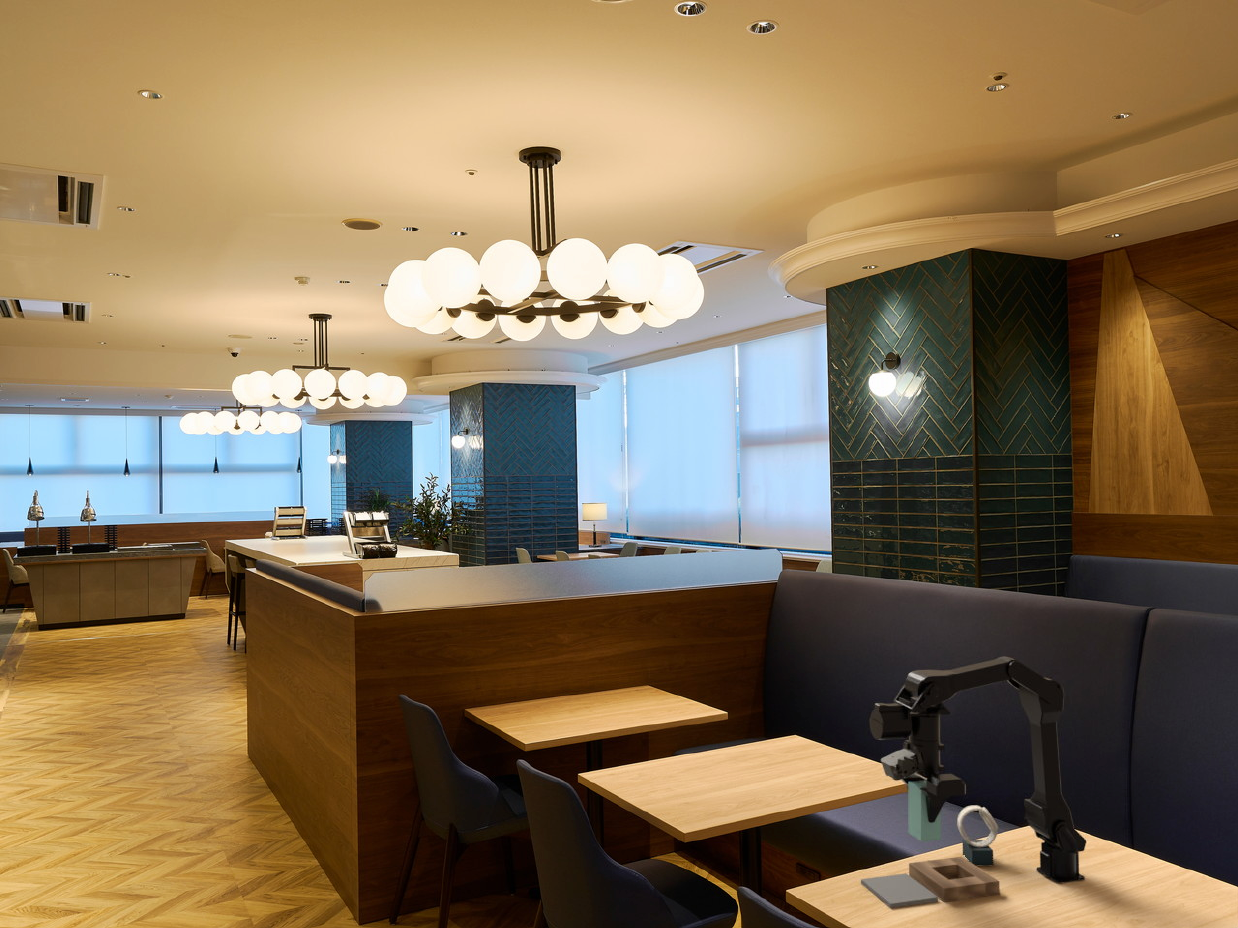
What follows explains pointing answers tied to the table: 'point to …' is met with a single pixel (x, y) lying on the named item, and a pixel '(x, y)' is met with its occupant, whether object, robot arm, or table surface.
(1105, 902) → the table surface
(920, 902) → the pad
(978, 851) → the watch
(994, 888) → the pocket
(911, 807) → the peg
